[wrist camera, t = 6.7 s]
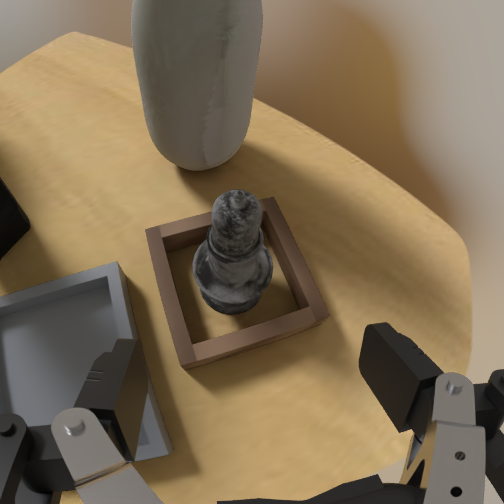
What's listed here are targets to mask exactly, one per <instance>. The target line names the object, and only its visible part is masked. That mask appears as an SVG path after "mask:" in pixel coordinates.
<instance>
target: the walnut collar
mask: <svg viewBox="0 0 504 504" xmlns="http://www.w3.org/2000/svg"><path fill="white" fill-rule="evenodd" d="M259 202H260V204H261V207H262V213H263V214H262V220H261V225H260V227H262V226H263V228H264V230H265V233H266V235H267V237H268V239H269V242H270V244H271V246H272V248H273V251H274V253H275V255H276V257H277V260H278V262H279V264H280V267H281V269H282V271H283V273H284V276H285V278H286V280H287V283H288V285H289V287H290V289H291V292H292V294H293V296H294V299H295V301H296V303H297V306H298V308H299V310H298V311H295V312H292V313H289V314H286V315H284V316H281V317H278V318H275V319H272V320H269V321H266V322H263V323H260V324H257V325H254V326H251V327H248V328H245V329H242V330H239V331H235V332H232V333H229V334H226V335H223V336H219V337H216V338H213V339H210V340H206V341H203V342H200V343H196V344H192V341H191V337H190V334H189V331H188V328H187V324H186V321H185V318H184V314H183V311H182V308H181V304H180V301H179V297H178V294H177V290H176V287H175V283H174V280H173V276H172V272H171V269H170V265H169V261H168V257H167V253H166V252H169V251H173V250H176V249H180V248H184V247H187V246H191V245H195V244H198V243H202V242H204V241H205V240H206V236H207V232H208V229H209V228H210V226H211V224H212V213H211V212H208V213H205V214H201V215H197V216H193V217H189V218H185V219H181V220H178V221H174V222H170V223H167V224H163V225H159V226H156V227H152V228H148V229H145V231H146V236H147V241H148V245H149V250H150V254H151V259H152V263H153V267H154V271H155V275H156V280H157V284H158V288H159V291H160V295H161V299H162V303H163V307H164V310H165V314H166V318H167V321H168V325H169V328H170V332H171V335H172V339H173V342H174V346H175V349H176V352H177V355H178V359H179V362H180V365H181V367H182V368H183V369H184V370H187V369H191V368H194V367H198V366H201V365H204V364H208V363H211V362H214V361H217V360H221V359H224V358H227V357H230V356H233V355H236V354H239V353H242V352H245V351H249V350H251V349H254V348H257V347H260V346H263V345H266V344H269V343H272V342H275V341H277V340H280V339H283V338H286V337H289V336H291V335H294V334H297V333H299V332H302V331H305V330H307V329H310V328H313V327H315V326H318V325H320V324H322V323H323V322H324V321H325V320H326V319H327V318H328V317H329V316H330V314H329V312H328V310H327V307H326V305H325V303H324V301H323V299H322V296H321V294H320V292H319V290H318V288H317V286H316V283H315V281H314V279H313V277H312V275H311V273H310V271H309V268H308V266H307V264H306V262H305V260H304V258H303V256H302V254H301V252H300V249H299V247H298V245H297V243H296V241H295V239H294V237H293V235H292V233H291V231H290V229H289V227H288V225H287V223H286V221H285V219H284V216H283V214H282V212H281V210H280V208H279V206H278V204H277V202H276V200H275V198H274V197H270V198H266V199H262V200H259Z"/></svg>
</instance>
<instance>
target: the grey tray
mask: <svg viewBox="0 0 504 504" xmlns="http://www.w3.org/2000/svg"><path fill="white" fill-rule="evenodd" d="M118 338H128V339H139V336H138V332H137V328H136V323H135V319H134V315H133V310H132V306H131V301H130V296H129V292H128V287H127V282H126V277H125V274H124V272H123V270H122V269H121V267H120V265H119V264H118V262H117V261H116V262H113V263H110V264H106V265H103V266H99V267H96V268H92V269H89V270H86V271H82V272H79V273H76V274H72V275H69V276H66V277H62V278H59V279H56V280H52V281H49V282H46V283H43V284H39V285H36V286H33V287H30V288H27V289H23V290H20V291H17V292H14V293H11V294H8V295H4V296H1V297H0V415H2V414H6V413H14V414H17V415H19V416H21V417H22V418H23V419H24V421H25V422H26V424H27V426H28V427H29V426H41V425H50V424H52V421H53V419H54V418H55V417H56V416H57V415H58V414H59V413H60V412H62V411H64V410H66V409H70V408H73V407H74V404H75V402H76V400H77V398H78V395H79V393H80V391H81V389H82V386H83V384H84V382H85V380H87V376H88V374H89V372H90V369H91V367H92V365H93V363H94V361H95V360H96V359H97V358H98V357H99V356H100V355H101V354H103V353H104V352H112V350H113V348H114V345H115V343H116V341H117V339H118ZM144 360H145V359H144ZM145 365H146V362H145ZM146 370H147V374H148V393H147V398H146V403H145V408H144V413H143V418H142V423H141V429H140V434H139V440H138V445H137V451H136V457H135V461H140V460H146V459H151V458H155V457H160V456H165V455H169V454H170V453H171V452H173V451H174V449H173V446H172V443H171V440H170V438H169V435H168V432H167V429H166V426H165V424H164V421H163V418H162V415H161V412H160V409H159V406H158V403H157V399H156V396H155V393H154V390H153V387H152V383H151V380H150V376H149V373H148V369H147V366H146ZM126 462H131V461H126Z"/></svg>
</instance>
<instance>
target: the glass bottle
mask: <svg viewBox="0 0 504 504" xmlns="http://www.w3.org/2000/svg"><path fill="white" fill-rule="evenodd" d="M262 24H263V14H262V3H261V0H133V5H132V14H131V34H132V44H133V52H134V59H135V65H136V71H137V76H138V81H139V86H140V92H141V97H142V104H143V109H144V115H145V120H146V124H147V128H148V131H149V134H150V136H151V139H152V141H153V143H154V145H155V146H156V148H157V149H158V151H159V152H160V153H161V154H162V155H163V156H164V157H165V158H166V159H167V160H169V161H170V162H172V163H174V164H175V165H177V166H179V167H182V168H184V169H188V170H193V171H203V170H207V169H211V168H214V167H217V166H219V165H221V164H222V163H224V162H226V161H228V160H229V159H231V158H232V157H233V156H234V155H235V153H236V152H237V151H238V150H239V148H240V146H241V145H242V143H243V140H244V138H245V136H246V133H247V130H248V127H249V123H250V117H251V110H252V102H253V94H254V86H255V78H256V71H257V65H258V59H259V58H258V57H259V51H260V43H261V35H262Z"/></svg>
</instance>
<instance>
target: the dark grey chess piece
mask: <svg viewBox="0 0 504 504" xmlns="http://www.w3.org/2000/svg"><path fill="white" fill-rule="evenodd" d="M211 213H212V224H211V226H210V228H209V229H208V232H207V236H206V240H205V241H204V242H203V243H202V244H201V245H200V246H199V248H198V249H197V251H196V253H195V255H194V259H193V274H194V277H195V280H196V283H197V284H198V286H199V287H200V291H201V294H202V297H203V299H204V300H205V302H206V303H207V304H208V305H209V306H210V307H211V308H213V309H214V310H216V311H218V312H221V313H224V314H230V315H231V314H240V313H243V312H246V311H248V310H249V309H251V308H252V307H254V306H255V304H256V303H257V302H258V301H259V299H260V297H261V295H262V292H263V291H264V290H265V289H266V287H267V286H268V284H269V282H270V280H271V278H272V272H273V263H272V258H271V255H270V253H269V251H268V249H267V248H266V247H265V246H264V244H263V240H264V238H263V232H262V230H261V228H260V225H261V220H262V214H263V213H262V207H261V204H260V202H259V200H258V199H257V198H256V197H255V196H254V195H253V194H251V193H249V192H247V191H244V190H231V191H227V192H225V193H223V194H222V195H220V196H219V197H218V198H217V199H216V201H215V202H214V204H213V208H212V211H211Z"/></svg>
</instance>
